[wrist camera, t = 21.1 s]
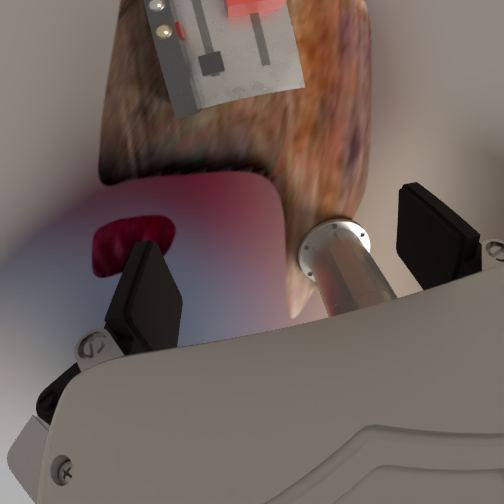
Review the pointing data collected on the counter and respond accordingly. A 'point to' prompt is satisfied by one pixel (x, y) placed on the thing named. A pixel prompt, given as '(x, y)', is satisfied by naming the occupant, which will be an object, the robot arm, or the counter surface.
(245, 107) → the counter surface
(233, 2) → the matte red cuboid
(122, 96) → the counter surface
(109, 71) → the counter surface
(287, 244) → the counter surface
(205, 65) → the block
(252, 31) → the grey slider control panel
